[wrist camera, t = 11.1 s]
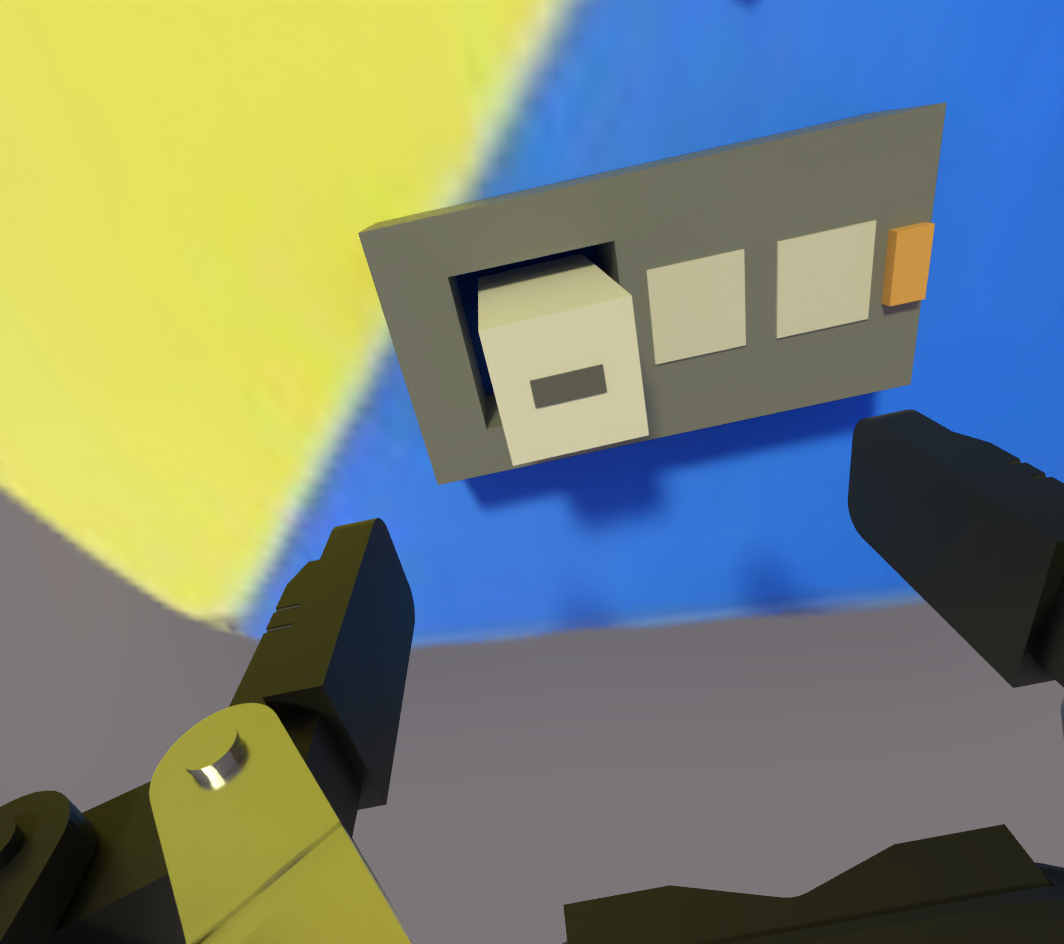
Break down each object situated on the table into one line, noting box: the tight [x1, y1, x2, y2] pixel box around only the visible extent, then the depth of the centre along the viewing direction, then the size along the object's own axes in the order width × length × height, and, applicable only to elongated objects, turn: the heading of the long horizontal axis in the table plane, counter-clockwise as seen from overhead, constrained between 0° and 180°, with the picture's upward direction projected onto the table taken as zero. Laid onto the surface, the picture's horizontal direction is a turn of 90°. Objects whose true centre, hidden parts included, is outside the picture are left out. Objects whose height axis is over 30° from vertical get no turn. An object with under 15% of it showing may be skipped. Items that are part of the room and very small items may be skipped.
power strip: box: [358, 103, 946, 485], centre depth 21 cm, size 18×9×4 cm, turn 101°
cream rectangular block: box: [478, 253, 649, 466], centre depth 19 cm, size 4×4×8 cm
